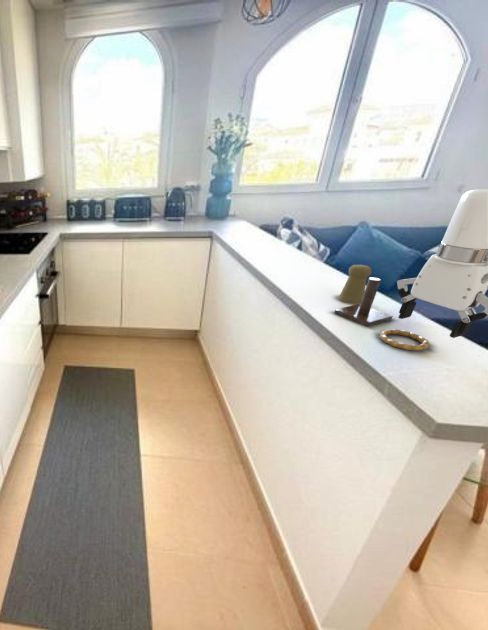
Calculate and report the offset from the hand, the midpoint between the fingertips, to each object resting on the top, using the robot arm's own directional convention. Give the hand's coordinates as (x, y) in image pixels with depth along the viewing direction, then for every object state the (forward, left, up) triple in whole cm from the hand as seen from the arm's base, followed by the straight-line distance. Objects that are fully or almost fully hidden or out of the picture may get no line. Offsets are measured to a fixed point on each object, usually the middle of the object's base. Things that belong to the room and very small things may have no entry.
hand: (428, 326), depth 78 cm
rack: (-5, -16, -6) cm, 18 cm away
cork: (-13, -25, -6) cm, 29 cm away
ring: (0, -3, -5) cm, 6 cm away
